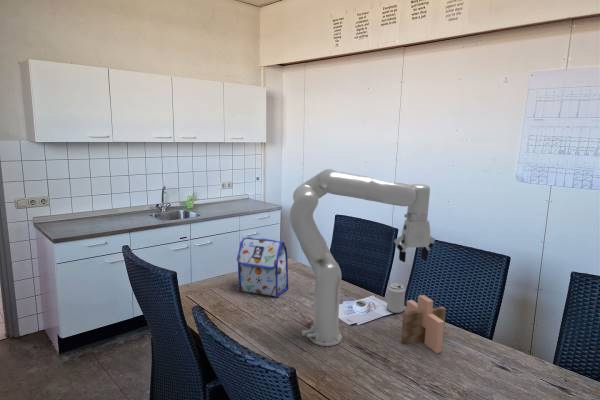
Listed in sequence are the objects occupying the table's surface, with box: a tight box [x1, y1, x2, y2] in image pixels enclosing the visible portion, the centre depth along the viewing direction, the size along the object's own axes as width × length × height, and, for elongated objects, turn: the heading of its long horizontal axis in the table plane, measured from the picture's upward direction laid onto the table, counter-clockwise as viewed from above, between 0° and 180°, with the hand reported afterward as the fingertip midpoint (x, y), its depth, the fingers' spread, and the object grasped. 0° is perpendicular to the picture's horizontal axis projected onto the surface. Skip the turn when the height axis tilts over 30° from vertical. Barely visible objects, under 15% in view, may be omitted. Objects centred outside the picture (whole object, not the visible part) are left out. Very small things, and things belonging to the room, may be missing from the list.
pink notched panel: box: [405, 294, 445, 354], centre depth 156 cm, size 20×2×17 cm, turn 19°
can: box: [386, 282, 406, 314], centre depth 182 cm, size 8×8×12 cm
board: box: [400, 306, 447, 345], centre depth 156 cm, size 18×2×12 cm, turn 109°
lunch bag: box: [236, 236, 290, 298], centre depth 200 cm, size 23×17×27 cm
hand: (413, 260), depth 156 cm, fingers open, 9 cm apart
